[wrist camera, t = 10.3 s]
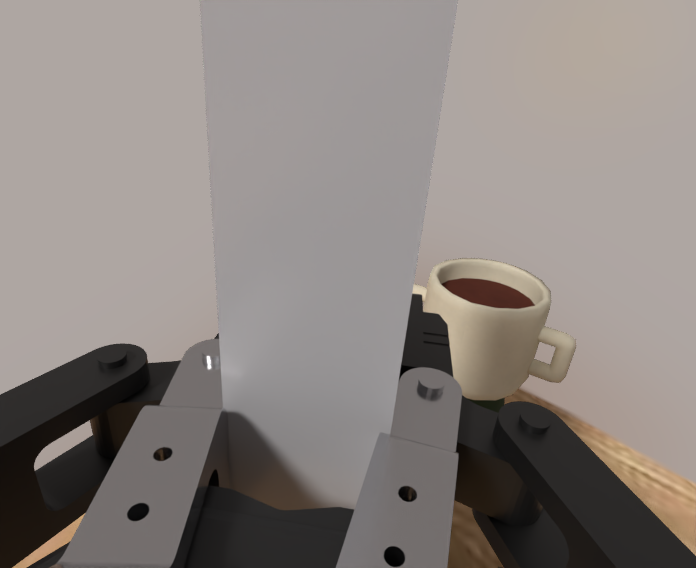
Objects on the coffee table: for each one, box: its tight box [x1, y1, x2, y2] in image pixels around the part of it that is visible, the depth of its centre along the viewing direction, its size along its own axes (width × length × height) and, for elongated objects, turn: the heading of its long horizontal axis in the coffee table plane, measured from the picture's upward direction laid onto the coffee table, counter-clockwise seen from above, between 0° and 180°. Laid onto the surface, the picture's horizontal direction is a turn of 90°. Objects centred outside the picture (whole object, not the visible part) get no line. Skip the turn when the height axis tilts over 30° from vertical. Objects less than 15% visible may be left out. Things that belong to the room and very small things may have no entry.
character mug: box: [412, 258, 576, 413], centre depth 31 cm, size 11×7×13 cm, turn 58°
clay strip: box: [200, 0, 458, 510], centre depth 11 cm, size 6×3×16 cm, turn 172°
